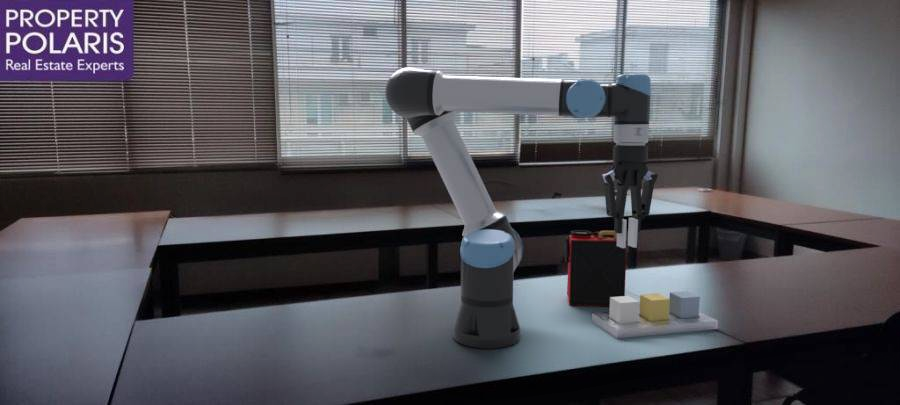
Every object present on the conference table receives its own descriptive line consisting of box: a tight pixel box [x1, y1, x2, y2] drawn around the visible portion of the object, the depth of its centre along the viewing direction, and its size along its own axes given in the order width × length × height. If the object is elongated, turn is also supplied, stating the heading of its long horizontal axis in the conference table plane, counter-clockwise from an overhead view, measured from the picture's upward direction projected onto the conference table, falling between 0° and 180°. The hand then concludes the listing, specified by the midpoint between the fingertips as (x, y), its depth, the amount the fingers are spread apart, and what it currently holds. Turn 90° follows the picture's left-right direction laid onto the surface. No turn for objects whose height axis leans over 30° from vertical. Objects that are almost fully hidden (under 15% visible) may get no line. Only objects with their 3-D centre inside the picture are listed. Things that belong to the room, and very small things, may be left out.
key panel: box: [591, 308, 719, 339], centre depth 142 cm, size 26×12×2 cm, turn 104°
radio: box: [564, 229, 628, 307], centre depth 160 cm, size 16×10×20 cm, turn 84°
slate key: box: [669, 290, 701, 319], centre depth 144 cm, size 5×5×5 cm
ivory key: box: [608, 295, 640, 324], centre depth 140 cm, size 5×5×5 cm
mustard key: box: [639, 293, 670, 322], centre depth 142 cm, size 5×5×5 cm
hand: (626, 246), depth 138 cm, fingers open, 2 cm apart
